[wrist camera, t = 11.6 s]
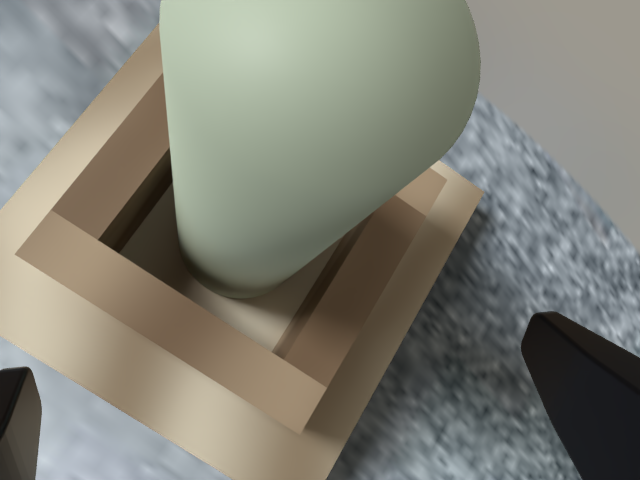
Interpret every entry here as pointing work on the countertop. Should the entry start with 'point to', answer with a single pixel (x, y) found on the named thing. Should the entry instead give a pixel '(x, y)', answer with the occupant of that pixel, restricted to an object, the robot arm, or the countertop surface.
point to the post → (303, 122)
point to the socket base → (209, 295)
